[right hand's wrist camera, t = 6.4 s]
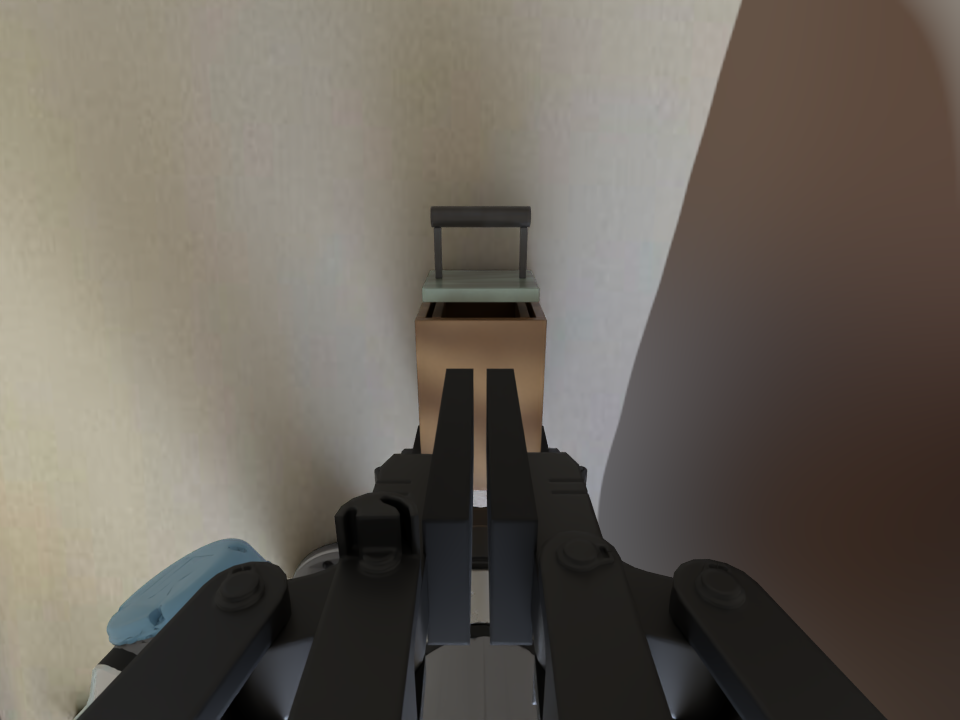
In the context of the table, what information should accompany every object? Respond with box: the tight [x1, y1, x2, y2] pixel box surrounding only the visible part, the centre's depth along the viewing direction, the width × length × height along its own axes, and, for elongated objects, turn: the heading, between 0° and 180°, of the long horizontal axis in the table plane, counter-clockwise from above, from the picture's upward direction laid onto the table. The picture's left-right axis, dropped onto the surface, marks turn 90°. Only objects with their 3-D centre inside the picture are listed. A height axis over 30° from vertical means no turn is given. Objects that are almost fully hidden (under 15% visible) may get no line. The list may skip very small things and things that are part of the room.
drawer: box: [422, 206, 540, 318], centre depth 49 cm, size 22×10×8 cm, turn 0°
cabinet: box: [415, 302, 547, 491], centre depth 51 cm, size 17×11×10 cm, turn 0°
